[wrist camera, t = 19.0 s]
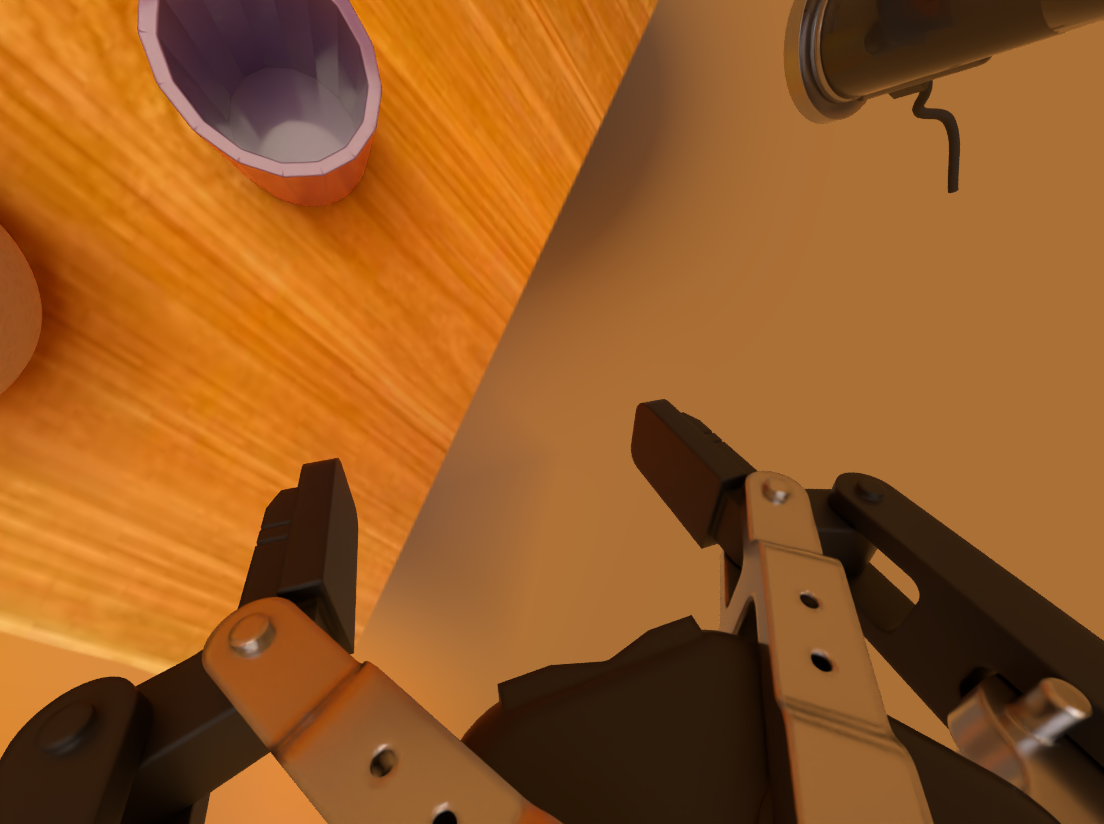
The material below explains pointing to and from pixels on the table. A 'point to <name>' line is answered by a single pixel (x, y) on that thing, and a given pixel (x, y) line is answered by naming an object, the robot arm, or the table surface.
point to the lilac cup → (271, 87)
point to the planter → (16, 311)
